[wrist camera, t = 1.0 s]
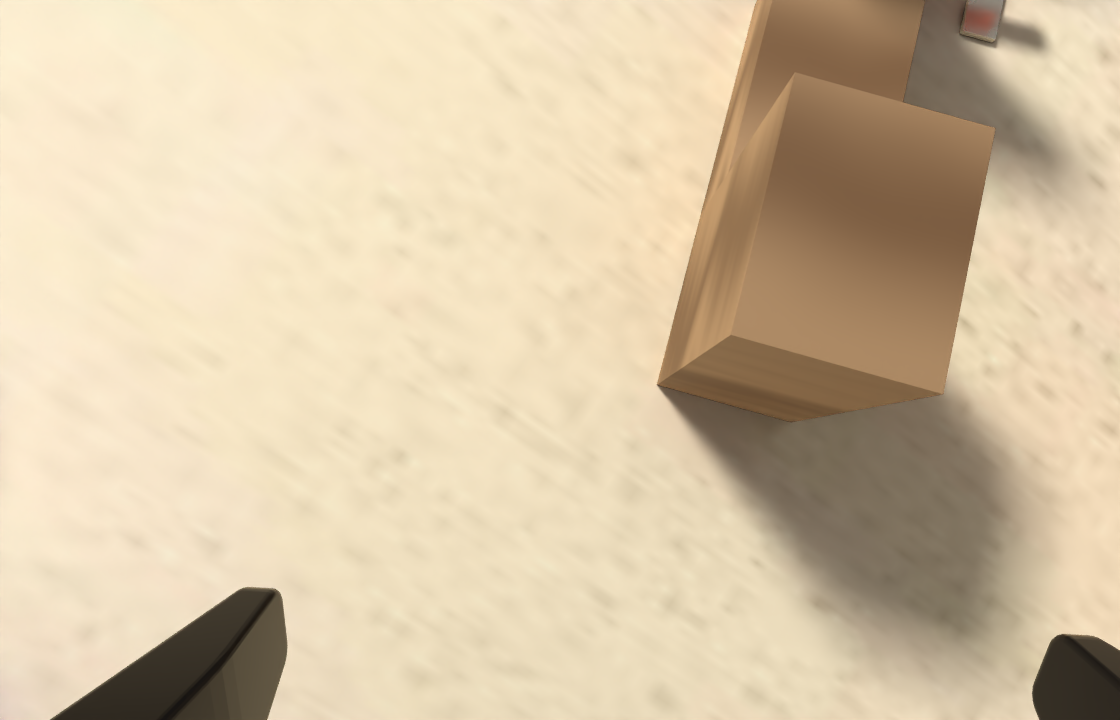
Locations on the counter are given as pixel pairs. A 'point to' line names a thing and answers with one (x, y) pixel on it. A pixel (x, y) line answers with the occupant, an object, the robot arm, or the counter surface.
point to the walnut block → (828, 222)
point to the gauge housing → (981, 19)
